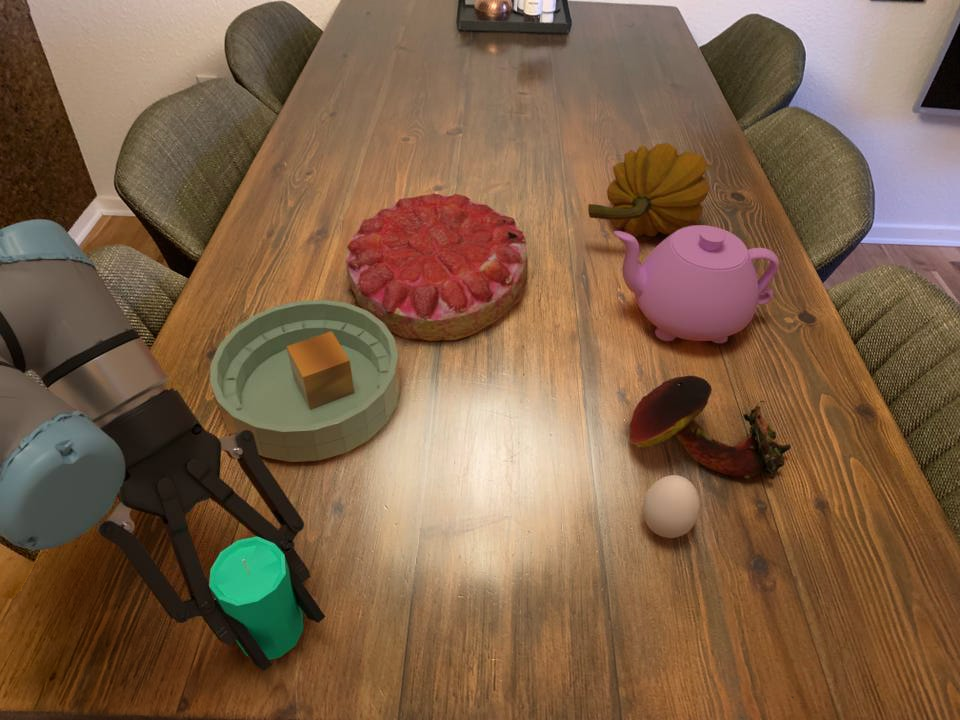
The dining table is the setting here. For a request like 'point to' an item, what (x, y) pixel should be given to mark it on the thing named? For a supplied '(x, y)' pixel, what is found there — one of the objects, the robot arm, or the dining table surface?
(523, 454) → the dining table surface
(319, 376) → the block
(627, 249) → the teapot
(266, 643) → the candle
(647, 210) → the fruit
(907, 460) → the dining table surface
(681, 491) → the egg
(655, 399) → the mushroom
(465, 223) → the cake
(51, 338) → the robot arm
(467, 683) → the dining table surface
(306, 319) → the bowl
